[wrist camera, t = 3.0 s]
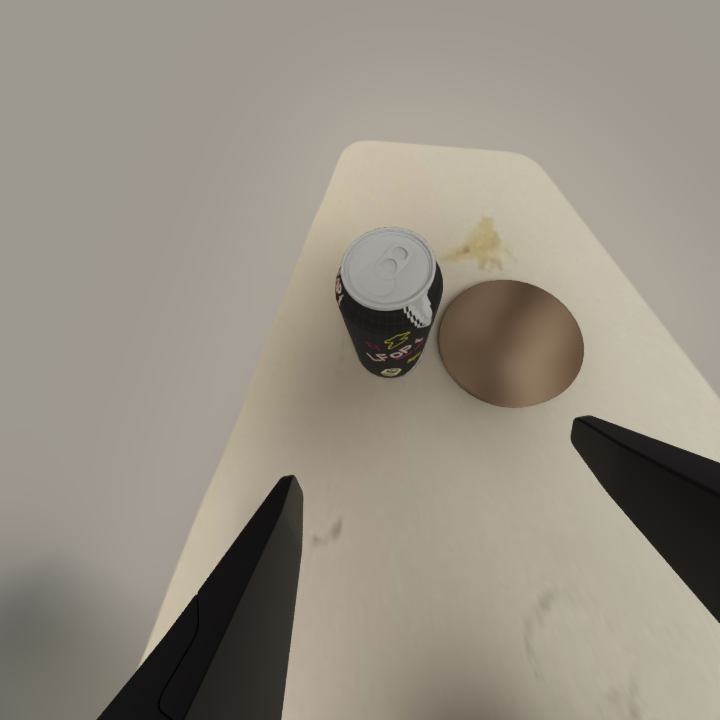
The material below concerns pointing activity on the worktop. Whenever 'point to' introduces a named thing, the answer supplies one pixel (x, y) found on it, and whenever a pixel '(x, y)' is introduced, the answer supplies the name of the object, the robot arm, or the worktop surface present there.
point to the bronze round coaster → (510, 343)
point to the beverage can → (389, 298)
